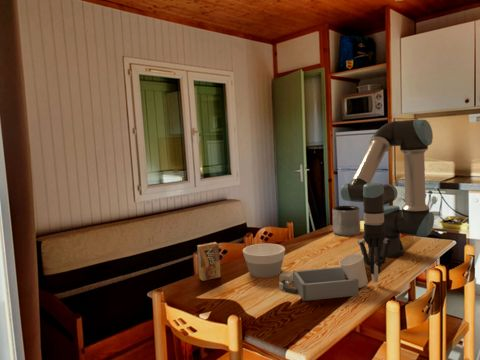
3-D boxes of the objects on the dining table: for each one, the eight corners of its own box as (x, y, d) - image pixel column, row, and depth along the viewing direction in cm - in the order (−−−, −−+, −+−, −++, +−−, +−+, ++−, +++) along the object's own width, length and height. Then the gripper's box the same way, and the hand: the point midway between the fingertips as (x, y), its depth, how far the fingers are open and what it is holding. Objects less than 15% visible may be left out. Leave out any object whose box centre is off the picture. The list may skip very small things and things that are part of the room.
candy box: (217, 274, 176) (215, 241, 174) (221, 277, 172) (218, 243, 171) (199, 278, 172) (196, 245, 171) (202, 281, 169) (199, 247, 167)
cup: (374, 286, 147) (365, 260, 146) (349, 293, 149) (339, 267, 148) (370, 275, 157) (361, 251, 155) (346, 282, 159) (337, 258, 158)
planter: (333, 236, 228) (333, 210, 226) (332, 230, 244) (331, 205, 242) (362, 236, 225) (361, 210, 224) (358, 229, 241) (357, 205, 239)
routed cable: (290, 281, 163) (290, 277, 163) (298, 293, 150) (298, 289, 150) (278, 282, 162) (277, 279, 162) (284, 294, 150) (284, 291, 149)
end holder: (343, 280, 160) (343, 266, 160) (358, 295, 145) (358, 279, 144) (293, 285, 158) (293, 271, 158) (303, 300, 143) (302, 285, 142)
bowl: (274, 282, 162) (273, 257, 161) (235, 276, 173) (234, 252, 172) (293, 268, 179) (292, 245, 177) (257, 263, 189) (255, 241, 188)
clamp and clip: (292, 278, 166) (291, 270, 166) (298, 288, 155) (298, 280, 154) (274, 279, 166) (274, 272, 165) (280, 290, 154) (279, 282, 154)
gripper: (385, 219, 155) (386, 276, 158) (353, 222, 154) (355, 279, 156) (394, 223, 148) (395, 283, 150) (361, 226, 147) (363, 286, 149)
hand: (375, 281), depth 153 cm, fingers closed
